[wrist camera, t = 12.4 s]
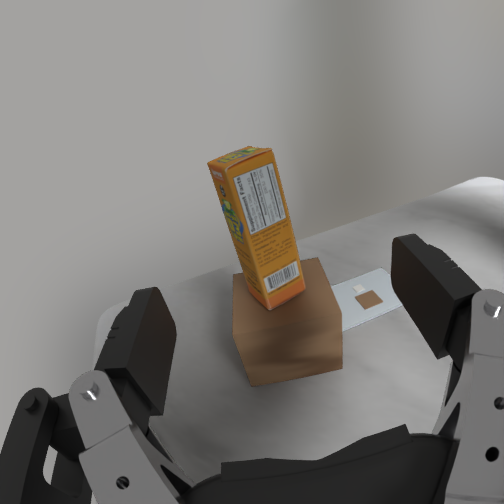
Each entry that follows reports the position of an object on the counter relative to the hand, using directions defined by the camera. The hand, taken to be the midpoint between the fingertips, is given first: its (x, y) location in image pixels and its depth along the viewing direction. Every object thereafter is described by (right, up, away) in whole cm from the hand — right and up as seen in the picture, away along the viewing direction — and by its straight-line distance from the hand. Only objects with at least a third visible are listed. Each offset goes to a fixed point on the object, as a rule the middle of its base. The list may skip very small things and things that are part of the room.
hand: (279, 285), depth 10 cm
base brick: (+2, -7, +14) cm, 16 cm away
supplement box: (+1, -2, +12) cm, 12 cm away
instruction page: (+10, -3, +17) cm, 20 cm away
